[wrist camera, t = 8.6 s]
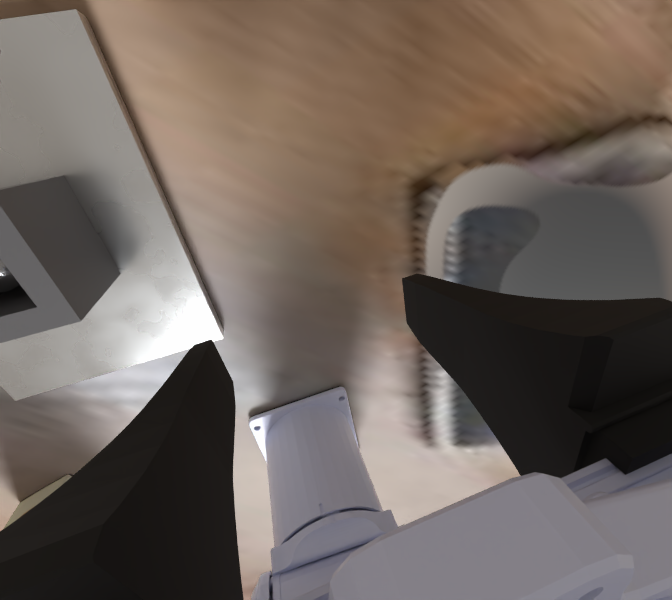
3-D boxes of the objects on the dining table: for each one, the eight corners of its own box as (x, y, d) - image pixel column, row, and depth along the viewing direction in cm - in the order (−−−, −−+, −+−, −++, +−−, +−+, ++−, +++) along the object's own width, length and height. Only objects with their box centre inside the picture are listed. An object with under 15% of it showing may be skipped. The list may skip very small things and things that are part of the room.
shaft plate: (223, 330, 21) (220, 373, 17) (25, 389, 19) (-29, 452, 15) (86, 17, 13) (23, -32, 9) (-275, 67, 11) (-541, 33, 7)
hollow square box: (120, 273, 17) (76, 326, 12) (16, 300, 16) (-72, 367, 11) (64, 175, 14) (-19, 194, 10) (-62, 201, 14) (-216, 235, 9)
